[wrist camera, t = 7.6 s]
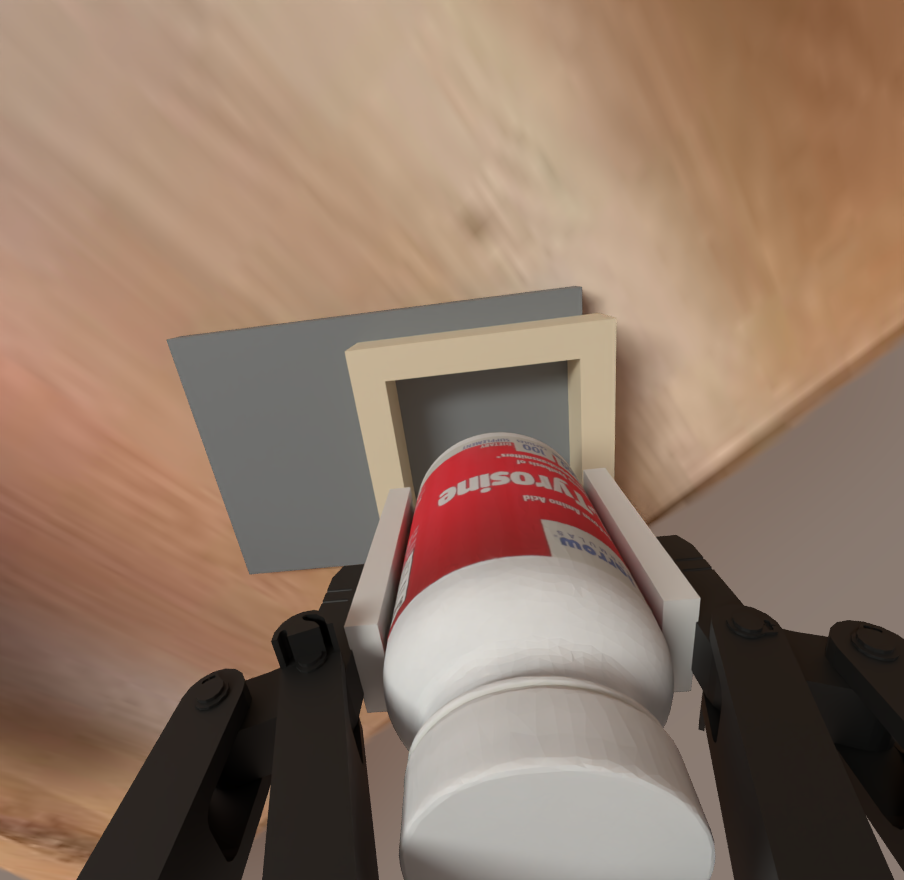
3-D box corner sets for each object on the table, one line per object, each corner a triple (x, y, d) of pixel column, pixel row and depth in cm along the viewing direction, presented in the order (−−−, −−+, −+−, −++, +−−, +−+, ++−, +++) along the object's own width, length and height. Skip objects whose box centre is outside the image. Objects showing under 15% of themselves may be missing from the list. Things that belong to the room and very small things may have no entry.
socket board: (258, 561, 27) (228, 603, 24) (181, 336, 22) (129, 348, 19) (592, 531, 26) (612, 570, 22) (591, 284, 21) (616, 286, 17)
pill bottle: (597, 441, 16) (860, 766, 5) (555, 577, 18) (684, 990, 8) (429, 413, 15) (366, 698, 5) (407, 555, 18) (332, 952, 7)
